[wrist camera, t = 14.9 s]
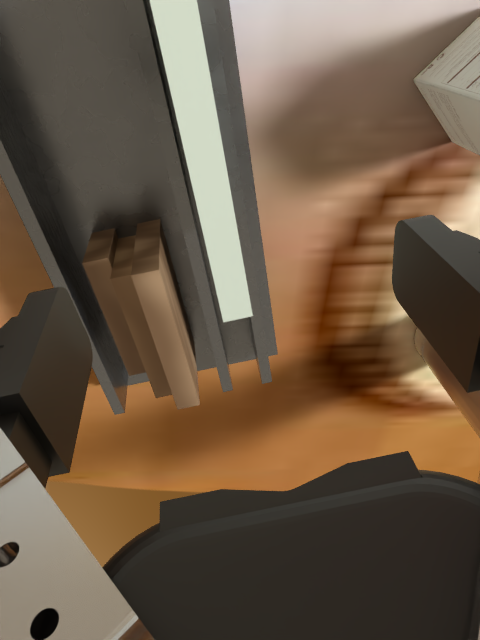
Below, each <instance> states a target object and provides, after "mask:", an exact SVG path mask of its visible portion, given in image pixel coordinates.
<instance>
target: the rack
mask: <svg viewBox="0 0 480 640" xmlns="http://www.w3.org/2000/svg"><path fill="white" fill-rule="evenodd" d="M197 4H198V10H199V15H200V21H201V27H202V32H203V38H204V44H205V49H206V55H207V60H208V66H209V72H210V77H211V83H212V89H213V94H214V100H215V106H216V111H217V117H218V122H219V128H220V134H221V139H222V145H223V151H224V156H225V162H226V167H227V173H228V179H229V184H230V190H231V196H232V201H233V207H234V213H235V218H236V224H237V229H238V235H239V241H240V246H241V252H242V258H243V263H244V269H245V274H246V280H247V286H248V291H249V297H250V303H251V308H252V314H253V316H251V317H247V318H242V319H237V320H232V321H228V322H223V319H222V314H221V310H220V306H219V301H218V297H217V292H216V288H215V284H214V279H213V275H212V271H211V266H210V262H209V258H208V253H207V249H206V244H205V240H204V236H203V231H202V227H201V223H200V218H199V214H198V209H197V205H196V201H195V196H194V192H193V188H192V183H191V179H190V175H189V170H188V166H187V161H186V157H185V153H184V148H183V144H182V140H181V135H180V131H179V127H178V122H177V118H176V113H175V109H174V105H173V100H172V96H171V92H170V87H169V83H168V79H167V74H166V70H165V65H164V61H163V57H162V52H161V48H160V44H159V39H158V35H157V31H156V26H155V22H154V17H153V13H152V9H151V4H150V0H0V175H1V177H2V179H3V181H4V183H5V185H6V188H7V190H8V192H9V194H10V196H11V198H12V200H13V202H14V204H15V206H16V209H17V211H18V213H19V215H20V217H21V219H22V221H23V223H24V225H25V227H26V230H27V232H28V234H29V236H30V238H31V240H32V242H33V244H34V246H35V248H36V250H37V253H38V255H39V257H40V259H41V261H42V263H43V265H44V267H45V269H46V271H47V274H48V276H49V278H50V280H51V282H52V284H53V286H54V288H57V287H64V288H65V289H66V290H67V291H68V293H69V295H70V297H71V299H72V301H73V303H74V306H75V308H76V310H77V312H78V314H79V317H80V319H81V321H82V323H83V326H84V328H85V330H86V332H87V334H88V337H89V339H90V342H91V347H92V354H93V361H92V368H93V370H94V372H95V374H96V376H97V378H98V380H99V382H100V385H101V387H102V389H103V391H104V393H105V395H106V397H107V399H108V401H109V403H110V406H111V408H112V410H113V412H114V414H115V415H116V414H121V413H125V405H126V395H127V386H128V385H133V384H137V383H142V382H147V381H149V379H148V376H147V373H141V374H136V375H131V376H129V374H128V372H127V369H126V367H125V365H124V362H123V360H122V357H121V355H120V353H119V350H118V348H117V345H116V343H115V341H114V338H113V336H112V333H111V331H110V329H109V326H108V324H107V321H106V319H105V317H104V314H103V312H102V309H101V307H100V305H99V302H98V300H97V297H96V295H95V293H94V290H93V288H92V285H91V283H90V281H89V278H88V276H87V273H86V271H85V269H84V266H83V264H82V262H83V259H84V256H85V253H86V249H87V246H88V243H89V240H90V237H91V233H93V232H98V231H103V230H108V229H113V228H115V231H116V234H117V237H118V239H119V238H124V237H129V236H134V235H136V231H137V224H138V223H143V222H148V221H153V220H158V219H160V220H161V224H162V228H163V231H164V235H165V238H166V242H167V246H168V249H169V253H170V256H171V260H172V263H173V267H174V271H175V274H176V278H177V281H178V285H179V289H180V292H181V296H182V299H183V303H184V306H185V310H186V314H187V317H188V321H189V324H190V328H191V332H192V335H193V339H194V342H195V354H196V366H197V371H200V370H205V369H209V368H214V367H217V370H218V374H219V377H220V381H221V385H222V389H223V392H226V391H230V390H233V387H232V382H231V376H230V370H229V364H233V363H238V362H243V361H248V360H253V359H256V361H257V365H258V369H259V373H260V377H261V381H262V384H264V383H269V382H272V378H271V372H270V365H269V359H268V356H272V355H277V354H278V353H277V346H276V339H275V332H274V324H273V317H272V310H271V303H270V295H269V288H268V281H267V273H266V266H265V259H264V252H263V244H262V237H261V230H260V223H259V215H258V208H257V201H256V193H255V186H254V179H253V172H252V164H251V157H250V150H249V143H248V135H247V128H246V121H245V113H244V106H243V99H242V92H241V84H240V77H239V70H238V63H237V55H236V48H235V41H234V33H233V26H232V19H231V12H230V4H229V0H197Z"/></svg>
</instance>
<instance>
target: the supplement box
mask: <svg viewBox="0 0 480 640" xmlns="http://www.w3.org/2000/svg"><path fill="white" fill-rule="evenodd" d="M414 82H415V84H416V86H417V87H418V89H419V91H420V92H421V94H422V96H423V97H424V99H425V100H426V102H427V103H428V105H429V107H430V108H431V110H432V111H433V113H434V114H435V116H436V118H437V119H438V121H439V122H440V124H441V125H442V127H443V128H444V130H445V132H446V133H447V135H448V136H449V138H450V139H451V141H452V142H453V143H455V144H457V145H459V146H461V147H463V148H465V149H467V150H470V151H472V152H474V153H476V154H478V155H480V16H479V17H478V18H477V19H476V20H475V21H474V22H473V23H472V24H471V25H470V26H469V27H468V28H466V29H465V30H464V31H463V32H462V33H461V34H460V35H459V36H458V37H457V38H456V39H455V40H454V41H453V42H452V43H451V44H450V45H449V46H448V47H447V48H446V49H444V50H443V51H442V52H441V53H440V54H439V55H438V56H437V57H436V58H435V59H434V60H433V61H432V62H431V63H430V64H429V65H428V66H427V67H426V68H425V69H424V70H423V71H421V72H420V73H419V74H418V75H417V76H416V77H415V78H414Z"/></svg>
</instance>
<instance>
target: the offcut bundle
mask: <svg viewBox="0 0 480 640" xmlns="http://www.w3.org/2000/svg"><path fill="white" fill-rule="evenodd" d="M82 264H83V266H84V269H85V271H86V273H87V276H88V278H89V281H90V283H91V285H92V288H93V290H94V293H95V295H96V297H97V300H98V302H99V305H100V307H101V309H102V312H103V314H104V317H105V319H106V321H107V324H108V326H109V329H110V331H111V333H112V336H113V338H114V341H115V343H116V345H117V348H118V350H119V353H120V355H121V357H122V360H123V362H124V365H125V367H126V369H127V372H128V374H129V376H131V375H136V374H141V373H147V376H148V379H149V381H150V384H151V386H152V389H153V392H154V394H155V397H156V398H159V397H163V396H168V395H173V397H174V400H175V403H176V406H177V409H183V408H188V407H193V406H197V405H200V401H199V389H198V377H197V366H196V354H195V342H194V339H193V335H192V332H191V328H190V324H189V321H188V317H187V314H186V310H185V306H184V303H183V299H182V296H181V292H180V289H179V285H178V281H177V278H176V274H175V271H174V267H173V263H172V260H171V256H170V253H169V249H168V246H167V242H166V238H165V235H164V231H163V228H162V224H161V220H160V219H158V220H153V221H148V222H143V223H138V224H137V231H136V235H134V236H129V237H124V238H119V239H118V237H117V234H116V231H115V228H113V229H108V230H103V231H98V232H93V233H91V237H90V240H89V243H88V246H87V249H86V253H85V256H84V259H83V262H82Z"/></svg>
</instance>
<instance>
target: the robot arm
mask: <svg viewBox="0 0 480 640" xmlns="http://www.w3.org/2000/svg"><path fill="white" fill-rule="evenodd" d="M392 284H393V290H394V293H395V296H396V298H397V300H398V302H399V303H400V305H401V306H402V307H403V309H404V310H405V311H406V313H407V314H408V315H409V317H410V318H411V319H412V321H413V322H414V323H415V325H416V326H417V327H418V328H417V330H416V333H415V337H414V341H415V346H416V349H417V351H418V352H419V353H420V355H421V356H422V358H423V360H424V361H425V362H426V363H427V365H428V366H429V368H430V369H431V370H432V372H433V373H434V375H435V376H436V378H437V379H438V380H439V382H440V383H441V385H442V386H443V387H444V389H445V390H446V392H447V393H448V394H449V396H450V397H451V399H452V400H453V401H454V403H455V404H456V406H457V407H458V408H459V410H460V411H461V413H462V414H463V415H464V417H465V418H466V420H467V421H468V422H469V424H470V425H471V427H472V428H473V429H474V431H475V432H476V434H477V435H478V436H479V438H480V240H479V239H478V238H475V237H473V236H470V235H467V234H465V233H462V232H459V231H457V230H456V231H452V230H451V229H449V228H448V227H447V226H446V225H445V224H443V223H442V222H441V221H440V220H439V219H437V218H436V217H435V216H433V215H427V216H422V217H416V218H411V219H406V220H401V221H399V222H398V223H397V225H396V228H395V238H394V254H393V270H392ZM92 361H93V354H92V347H91V342H90V339H89V337H88V334H87V332H86V330H85V328H84V326H83V323H82V321H81V319H80V317H79V314H78V312H77V310H76V308H75V306H74V303H73V301H72V299H71V297H70V295H69V293H68V291H67V290H66V289H65V288H64V287H57V288H52V289H47V290H42V291H37V292H32V293H29V294H28V296H27V298H26V300H25V302H24V304H23V307H22V309H21V311H20V313H19V315H18V316H17V317H12V318H11V319H10V320H9V321H8V322H7V323H6V324H5V325H4V326H3V327H2V328H0V640H480V472H479V477H478V482H477V483H475V482H473V481H470V480H467V479H464V478H461V477H458V476H454V475H450V474H446V473H442V472H435V471H427V470H418V469H417V467H416V465H415V463H414V461H413V460H412V458H411V456H410V454H409V452H408V451H406V452H401V453H396V454H391V455H386V456H381V457H376V458H372V459H367V460H362V461H357V462H352V463H347V464H345V465H343V466H341V467H339V468H337V469H335V470H333V471H331V472H328V473H326V474H324V475H322V476H320V477H318V478H316V479H314V480H312V481H310V482H308V483H305V484H303V485H301V486H299V487H297V488H295V489H292V490H289V491H254V490H226V489H221V490H216V491H211V492H206V493H201V494H196V495H192V496H187V497H182V498H177V499H172V500H167V501H162V502H160V523H159V524H156V525H154V526H152V527H150V528H149V529H147V530H145V531H144V532H142V533H141V534H139V535H137V536H136V537H135V538H133V539H132V540H131V541H129V542H128V543H127V544H126V545H125V546H123V547H122V548H121V549H120V550H119V551H118V552H117V553H116V554H115V555H114V556H113V557H112V558H110V560H109V561H108V562H107V563H106V564H105V565H104V567H101V566H100V564H99V563H98V561H97V560H96V559H95V557H94V556H93V555H92V553H91V552H90V551H89V549H88V548H87V546H86V545H85V543H84V542H83V541H82V540H81V538H80V537H79V535H78V534H77V533H76V531H75V530H74V529H73V527H72V526H71V524H70V523H69V521H68V520H67V519H66V517H65V516H64V515H63V513H62V512H61V510H59V508H58V506H57V505H56V504H55V502H54V501H53V499H52V498H51V497H50V495H49V494H48V493H47V491H46V490H45V487H46V483H47V479H48V477H50V476H54V475H59V474H64V473H69V472H70V467H71V462H72V458H73V453H74V448H75V443H76V438H77V434H78V429H79V424H80V419H81V414H82V410H83V405H84V400H85V395H86V390H87V386H88V381H89V376H90V371H91V366H92Z"/></svg>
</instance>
